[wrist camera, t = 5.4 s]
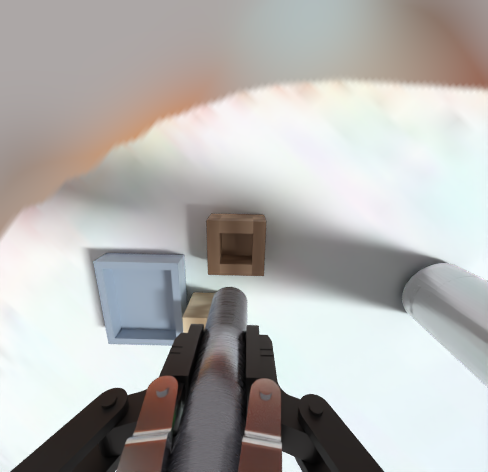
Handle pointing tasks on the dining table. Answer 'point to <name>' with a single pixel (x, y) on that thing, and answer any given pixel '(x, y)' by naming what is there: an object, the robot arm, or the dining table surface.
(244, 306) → the rod
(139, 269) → the tray
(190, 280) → the dining table surface
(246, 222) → the wooden square socket
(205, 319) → the block
